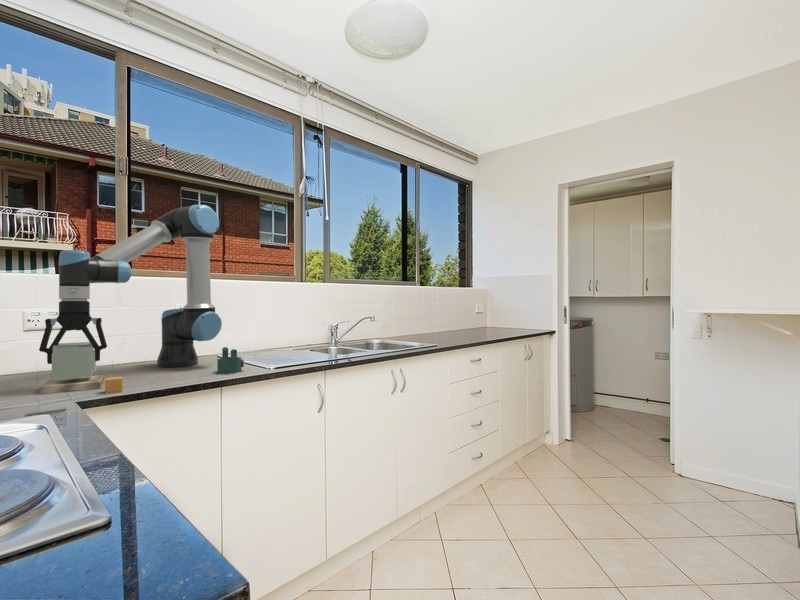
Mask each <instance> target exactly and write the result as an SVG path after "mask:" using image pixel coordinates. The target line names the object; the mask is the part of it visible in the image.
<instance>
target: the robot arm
mask: <svg viewBox="0 0 800 600" xmlns="http://www.w3.org/2000/svg"><path fill="white" fill-rule="evenodd" d="M219 227H220V219H219V217H218V214H217V213H216V211H214V209H213V208H212V207H210V206H209V205H207V204H193V205H190V206H182V207H177V208H174V209H172V210H170V211H168V212H166V213H165V214H163V215H161V216H160V217H158V218H156V219H155V220H152V221H151V222H150V225H149V226H147V227H145V228H144V229H142V230H140V231H138V232H136V233H134V234H133V235H130V236H129V237H126V238H125V239H123V240H121V241H119V242H118V243H116V244H114V245H112V246H110V247H108V248H106V249H105V250H103V251H101V252H99V253H97V254H96V255H94V256H92V257H91V255H90V254H91V253H90V252H89V251H87V250H80V249H79V250H77V249H65V250H61V251H60V253H59V257H58V264H57V265H58V279H59V281H58V299H59V300H60V301H58V314H57V315H58V316H57V317H54V318H46V319H45V321H44V323H45V328H44V332H43V335H42V339H41V342H40V344H39V345H40V346H39V349H38V351H39V352H43V353H45V354H46V362H47V364H48V365H51V376H53V346H54V345H57V344H58V343H61V341H62V339H63V337H64V336H65V334H66V332H69V331H82V333H83V334H84V335H85V337H86V338H87V340H88V342H90V343H92V346H93V348H94V351H92V372H94V373H95V372H97V371H96V370H97V366H96V365H97V362H99V361H101V351H102V350H104V349H107V347H108V344H107V340H106V337H105V334H104V330H103V327H102V321H103V319H102V318H101V317H92V316H91V313H90V311H91V310H90V307H91V306H90V303H91V302H90V301H89V299H91V298H90V296H91V295H90V294H91V293H90V292H91V289H90V287H91V286H90V285H91V284H105V283H107V284H108V283H111V284H112V283H113V284H114V283H115V284H120V283H121V284H122V283H123V284H124V283H127V282H129V280H130V279H131V276H132V268H131V265H130V264H129V263H130V262H131V261H133V260H135V259H137V258H139V257H140V256H142V255H144V254H145V253H147V252H148V251H150V250H152V249H154V248H155V247H157V246H159V245H161V244H163V243H169V242H171V241H173V240H175V239H178V238H181V240H182V241H183V242H184V243H185V264H186V266H185V269H186V304H185V306H184V307H182V308H172V309H166V310H164V311H163V312H162V314H161V320H160V321H161V349H160V352H159V354H158V357H157V360H156V366H157V367H160V368H176V367H177V368H180V367H188V366H194V365H197V364H199V357H198V354H197V352H196V348H195V345H194V341H196V342H207V341H211V340H213V339H215V338H216V337H217V335H219V334H220V332H221V330H222V322H223V321H222V318H221V317H220V315H219V314H218V313H216V307H215V305H214V304H212V293H211V291H212V289H211V287H212V286H211V255H210V253H211V252H210V249H211V248H210V247H211V246H210V244H211V243H212V242H213V241H214V234H215V233H216V232H217V231H218V230H219ZM91 322H92V324H93V325H95V328H96V331H97V336H98V339H99V343H100V345H99V344H98V342H97V341H96V339H95V337H94V335H92V333H91V331H90V329H89V328H88V325H89V324H90V323H91ZM56 323H58V324H59V325H60V326H61V327H60V330H59V331H58V333H57V334H56V336H55V338H54V339H53V341H52V342H51V344H50V345H49V347H48V343H49V341H50V337H51V334H52V331H53V328H54V327H53V326H55V325H56Z"/></svg>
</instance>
